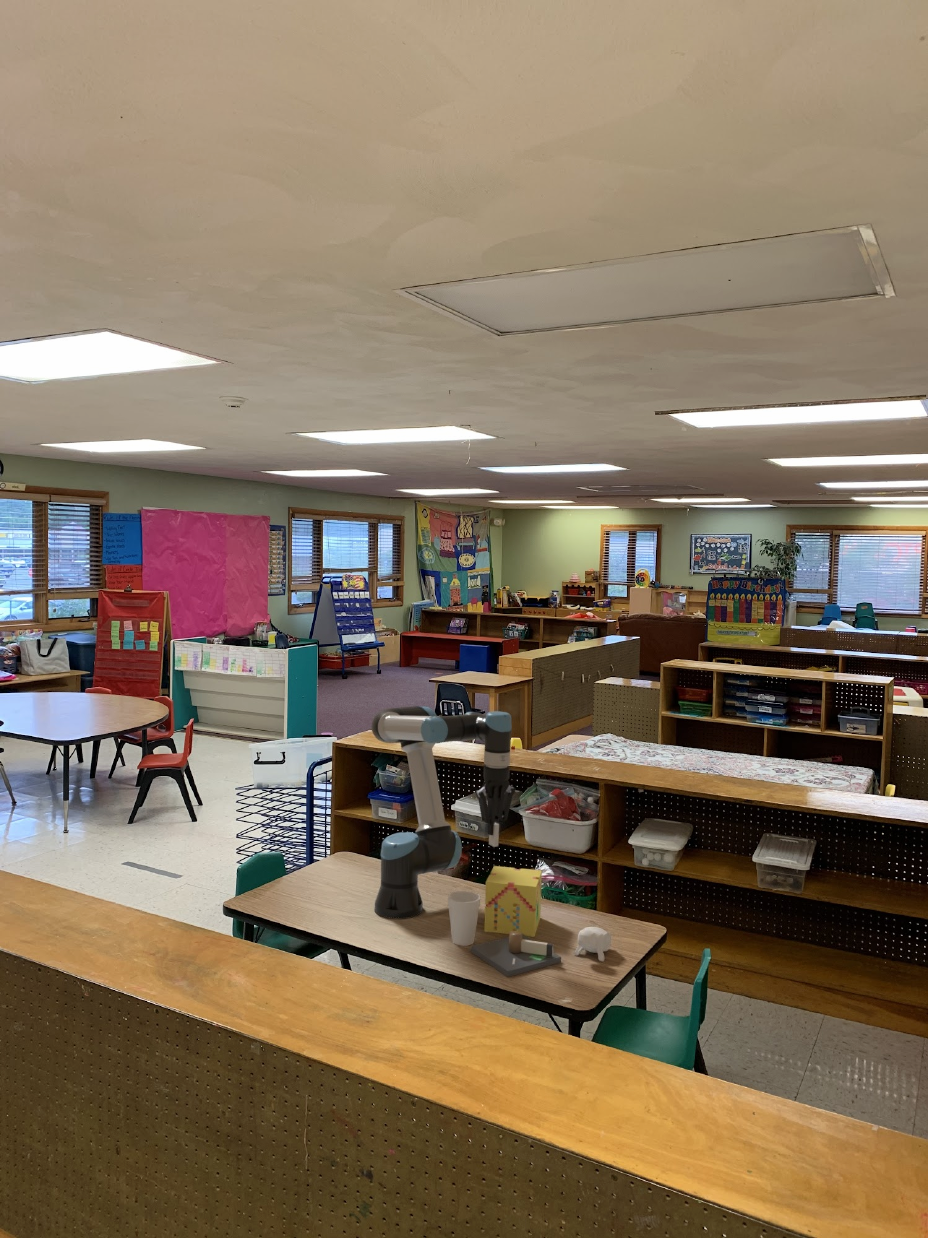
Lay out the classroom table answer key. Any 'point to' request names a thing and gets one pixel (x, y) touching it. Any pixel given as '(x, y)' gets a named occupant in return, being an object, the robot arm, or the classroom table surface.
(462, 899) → the foam cup
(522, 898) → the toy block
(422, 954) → the classroom table surface
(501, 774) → the robot arm
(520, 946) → the tuning lever
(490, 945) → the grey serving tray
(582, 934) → the white footed figurine
